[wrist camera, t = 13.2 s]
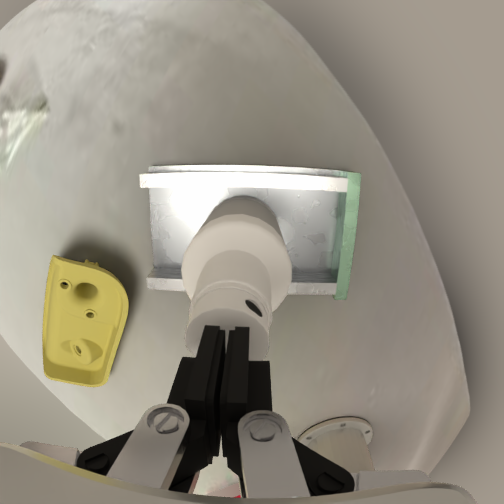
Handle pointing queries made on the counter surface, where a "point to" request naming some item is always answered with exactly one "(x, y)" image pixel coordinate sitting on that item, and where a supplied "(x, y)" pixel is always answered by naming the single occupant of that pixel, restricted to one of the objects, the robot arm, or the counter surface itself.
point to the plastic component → (82, 322)
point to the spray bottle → (236, 273)
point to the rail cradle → (279, 201)
